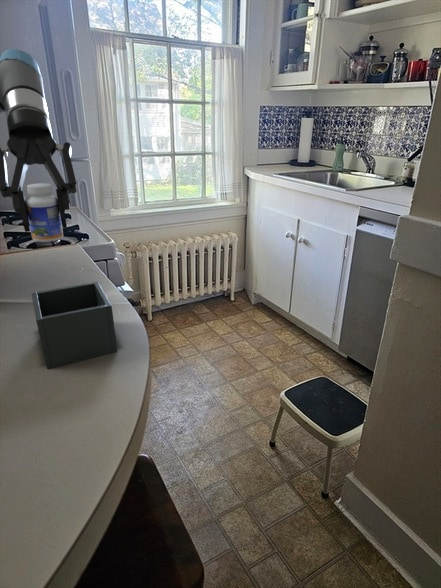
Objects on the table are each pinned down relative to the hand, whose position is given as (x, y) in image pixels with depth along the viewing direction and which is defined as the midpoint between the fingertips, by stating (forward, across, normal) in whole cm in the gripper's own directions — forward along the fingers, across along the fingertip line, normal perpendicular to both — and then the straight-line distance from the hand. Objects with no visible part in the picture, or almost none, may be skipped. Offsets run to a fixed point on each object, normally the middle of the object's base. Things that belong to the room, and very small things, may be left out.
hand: (45, 225), depth 68 cm
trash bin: (+21, -2, -5) cm, 21 cm away
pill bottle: (0, 0, -5) cm, 5 cm away
